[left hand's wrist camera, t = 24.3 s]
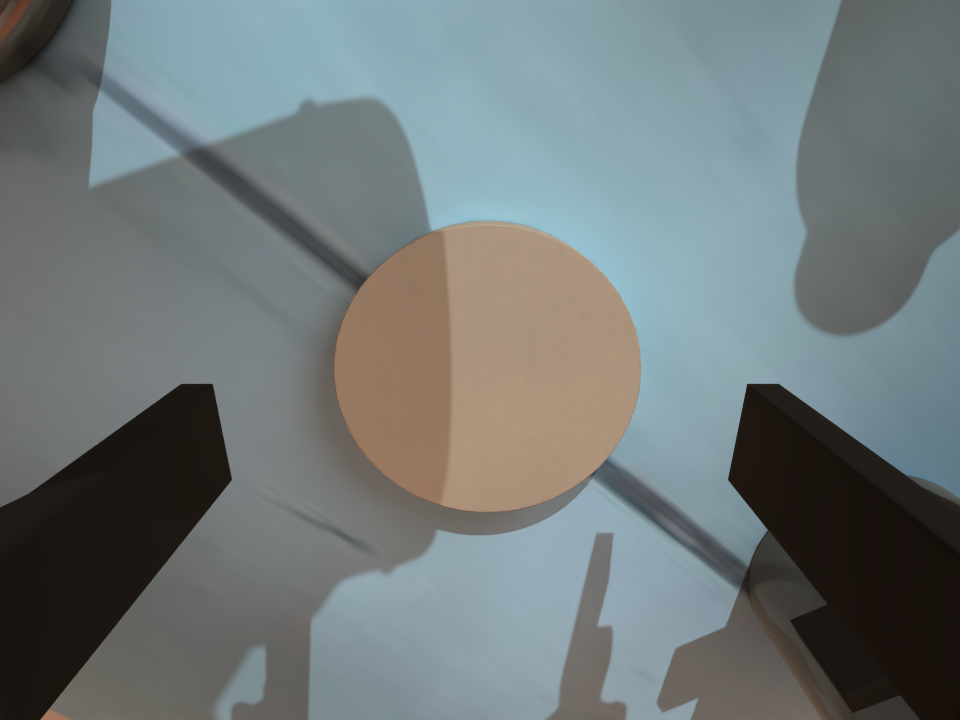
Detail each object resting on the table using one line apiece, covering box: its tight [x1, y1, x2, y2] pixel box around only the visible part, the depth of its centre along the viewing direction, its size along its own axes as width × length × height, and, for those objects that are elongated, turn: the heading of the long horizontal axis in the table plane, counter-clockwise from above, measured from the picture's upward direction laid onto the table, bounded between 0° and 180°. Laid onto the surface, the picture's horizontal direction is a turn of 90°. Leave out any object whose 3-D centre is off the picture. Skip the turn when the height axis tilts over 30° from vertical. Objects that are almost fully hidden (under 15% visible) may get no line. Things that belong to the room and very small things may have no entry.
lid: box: [334, 221, 641, 512], centre depth 19 cm, size 11×11×2 cm
